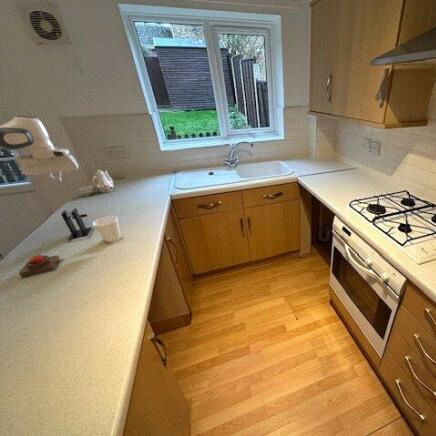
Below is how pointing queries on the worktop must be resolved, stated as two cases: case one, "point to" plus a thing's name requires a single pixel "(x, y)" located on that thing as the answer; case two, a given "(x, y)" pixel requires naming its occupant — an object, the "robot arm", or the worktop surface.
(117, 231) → the cup
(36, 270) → the button block
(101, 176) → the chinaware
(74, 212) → the bracket
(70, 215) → the lever
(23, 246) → the worktop surface
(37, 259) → the button
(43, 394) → the worktop surface
